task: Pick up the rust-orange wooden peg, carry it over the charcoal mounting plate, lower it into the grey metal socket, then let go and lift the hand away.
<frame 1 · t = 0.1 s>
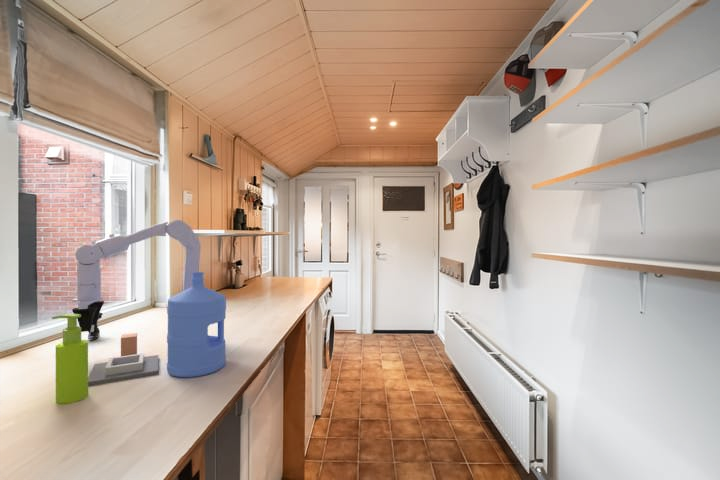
hand: (89, 327, 105), 10 cm above the counter, tool pointing down, fingers open, 7 cm apart
soap dispenser: (69, 398, 81), on the counter
caster wheel: (93, 339, 125), on the counter
water jug: (197, 368, 100), on the counter
wooden peg: (129, 357, 108), on the counter
mounting socket: (125, 370, 97), on the counter
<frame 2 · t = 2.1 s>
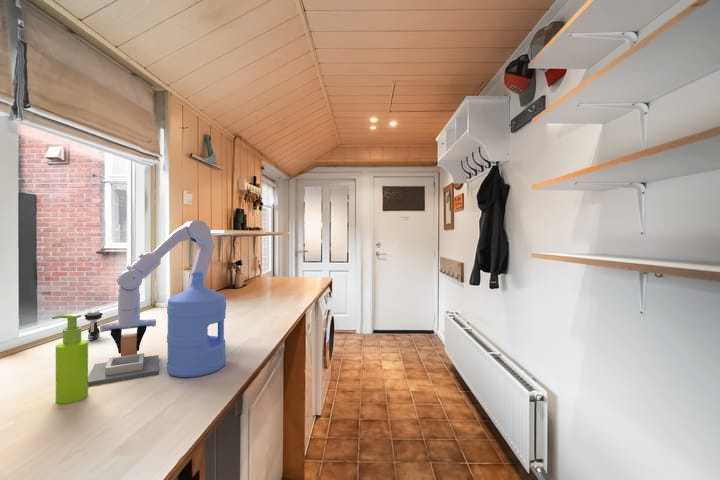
hand: (129, 351, 108), 2 cm above the counter, tool pointing down, fingers closed on wooden peg, 4 cm apart
wooden peg: (129, 357, 108), on the counter, touching gripper
everything else where it was.
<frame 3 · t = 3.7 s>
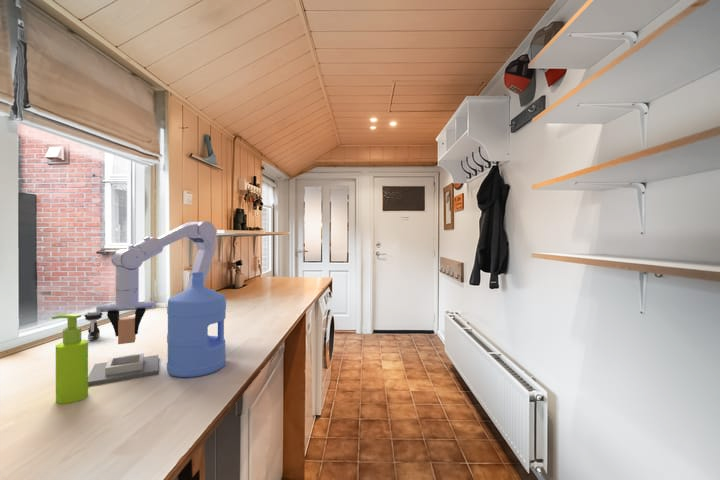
hand: (127, 334, 102), 9 cm above the counter, tool pointing down, fingers closed on wooden peg, 4 cm apart
wooden peg: (127, 341, 102), point 7 cm above the counter, touching gripper
everything else where it was.
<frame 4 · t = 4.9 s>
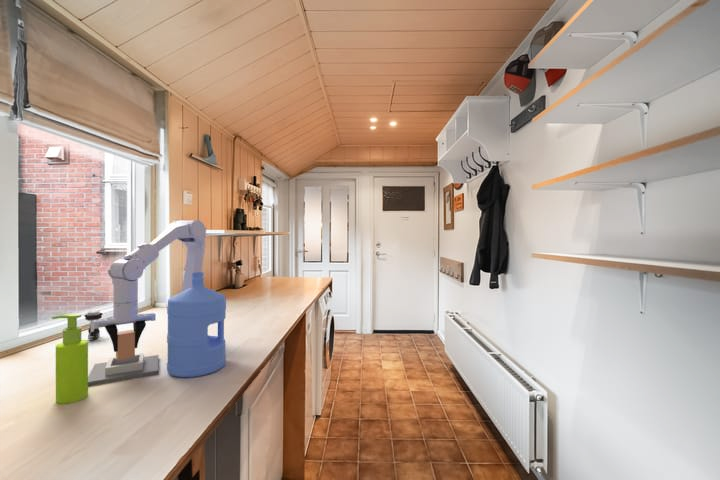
hand: (125, 349, 97), 6 cm above the counter, tool pointing down, fingers closed on wooden peg, 4 cm apart
wooden peg: (125, 356, 98), point 4 cm above the counter, touching gripper
everything else where it was.
when the fingers open (4 cm above the counter, at t = 5.7 s): wooden peg stays where it is, resting on mounting socket.
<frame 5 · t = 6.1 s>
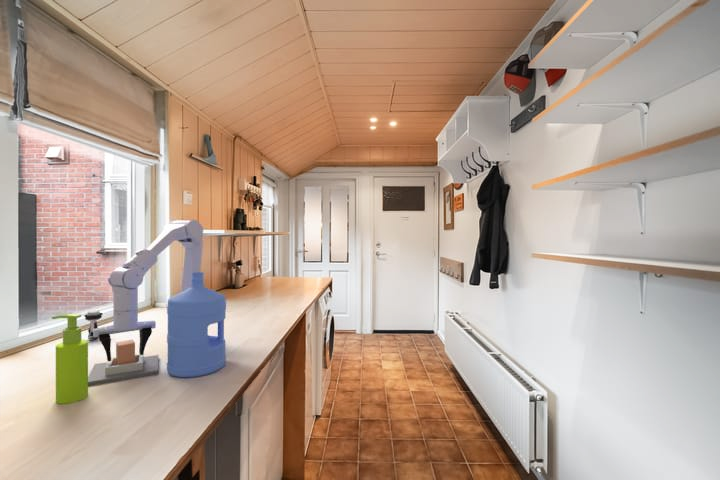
hand: (125, 357, 97), 4 cm above the counter, tool pointing down, fingers open, 7 cm apart
wooden peg: (125, 366, 98), point 1 cm above the counter, touching mounting socket
everything else where it was.
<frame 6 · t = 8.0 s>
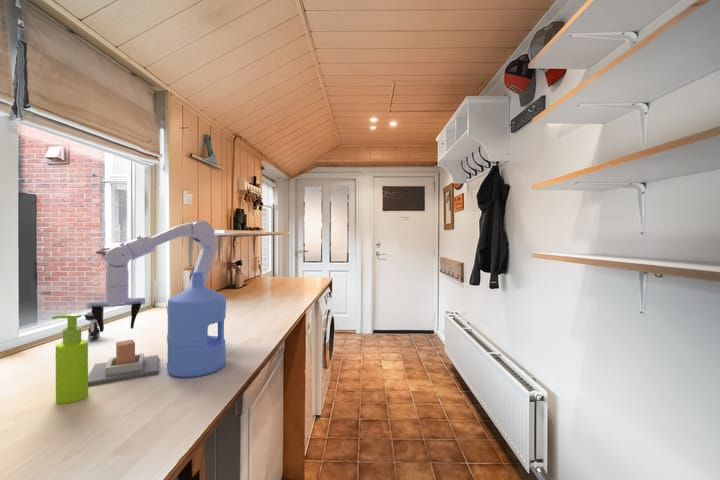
hand: (117, 329, 106), 9 cm above the counter, tool pointing down, fingers open, 7 cm apart
nothing on the counter moved.
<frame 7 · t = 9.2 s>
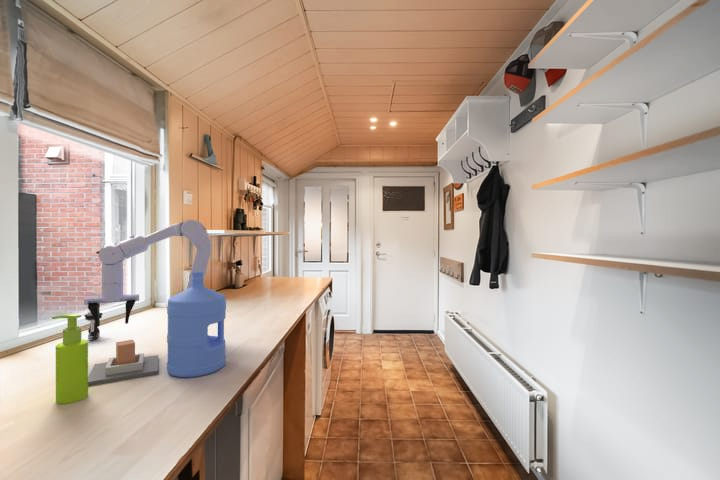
hand: (112, 324, 111), 9 cm above the counter, tool pointing down, fingers open, 7 cm apart
nothing on the counter moved.
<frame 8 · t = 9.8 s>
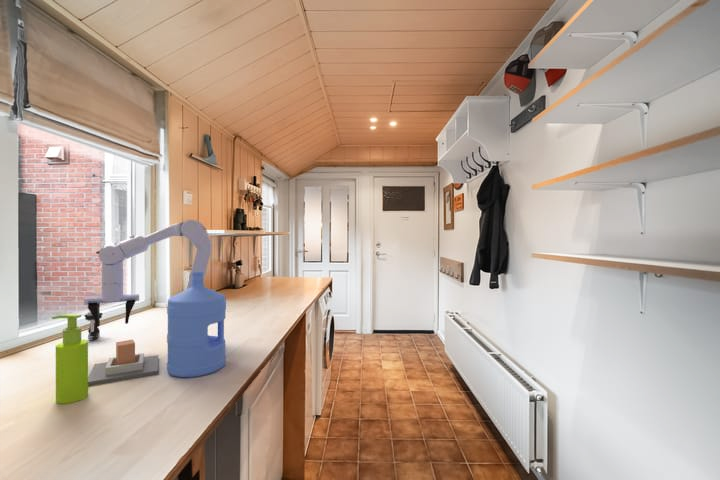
hand: (112, 324, 111), 9 cm above the counter, tool pointing down, fingers open, 7 cm apart
nothing on the counter moved.
at the end: wooden peg 0.4 cm off-centre on the mounting socket, point 1.0 cm above the mounting socket's base; wooden peg tilted 0°; the gripper is holding nothing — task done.
